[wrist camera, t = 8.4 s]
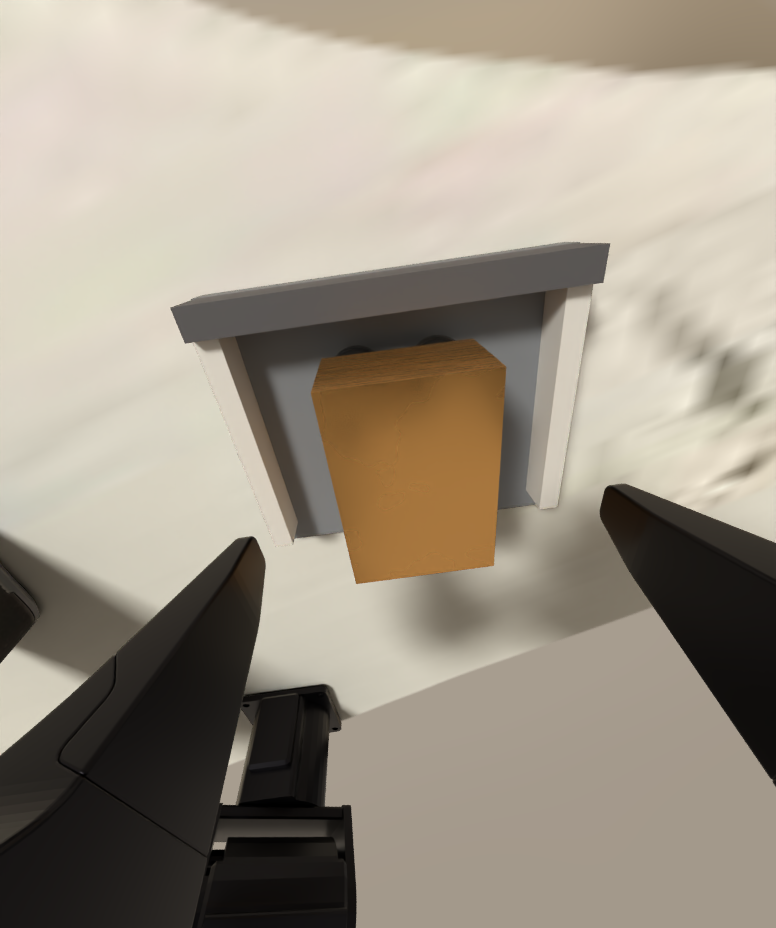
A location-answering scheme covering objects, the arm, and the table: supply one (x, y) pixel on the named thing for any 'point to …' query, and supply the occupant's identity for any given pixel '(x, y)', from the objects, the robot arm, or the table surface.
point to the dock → (390, 327)
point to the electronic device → (14, 612)
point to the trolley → (414, 454)
